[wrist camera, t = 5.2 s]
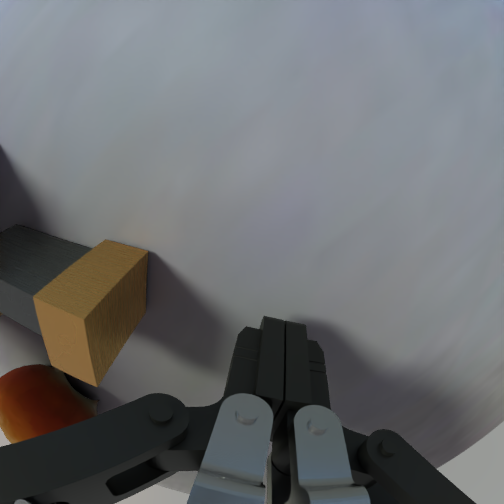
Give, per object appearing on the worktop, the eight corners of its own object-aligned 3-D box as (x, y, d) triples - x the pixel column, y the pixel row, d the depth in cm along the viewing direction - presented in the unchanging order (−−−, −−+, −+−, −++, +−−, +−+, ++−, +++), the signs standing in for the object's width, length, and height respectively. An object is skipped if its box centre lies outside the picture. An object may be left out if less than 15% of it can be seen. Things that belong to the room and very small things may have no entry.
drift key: (15, 213, 11) (-51, 249, 7) (148, 251, 11) (83, 319, 7) (21, 265, 12) (-35, 308, 8) (145, 312, 12) (97, 387, 8)
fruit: (138, 426, 14) (71, 507, 9) (110, 399, 20) (59, 460, 15) (37, 331, 12) (-35, 420, 7) (41, 330, 18) (-14, 393, 13)
